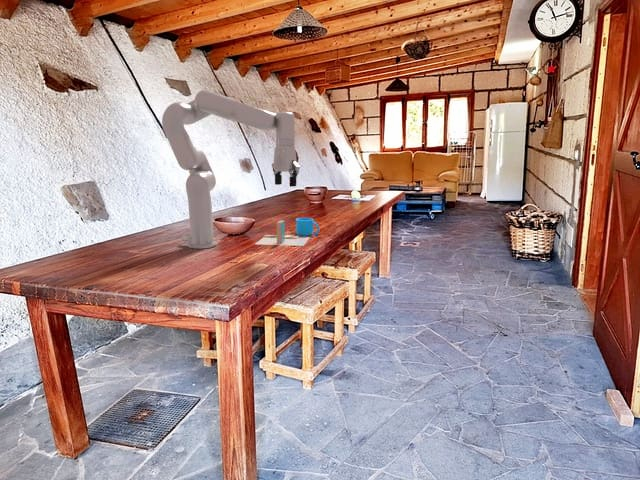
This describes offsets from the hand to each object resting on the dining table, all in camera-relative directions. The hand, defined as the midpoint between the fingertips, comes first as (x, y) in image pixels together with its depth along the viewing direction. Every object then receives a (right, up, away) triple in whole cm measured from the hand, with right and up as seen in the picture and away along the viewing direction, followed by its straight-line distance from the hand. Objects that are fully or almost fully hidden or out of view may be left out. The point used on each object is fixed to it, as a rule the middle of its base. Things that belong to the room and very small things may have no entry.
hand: (285, 185), depth 195 cm
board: (-2, -24, +12) cm, 27 cm away
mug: (+9, -21, +27) cm, 35 cm away
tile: (-3, -24, +9) cm, 25 cm away
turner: (-2, -22, +19) cm, 29 cm away
